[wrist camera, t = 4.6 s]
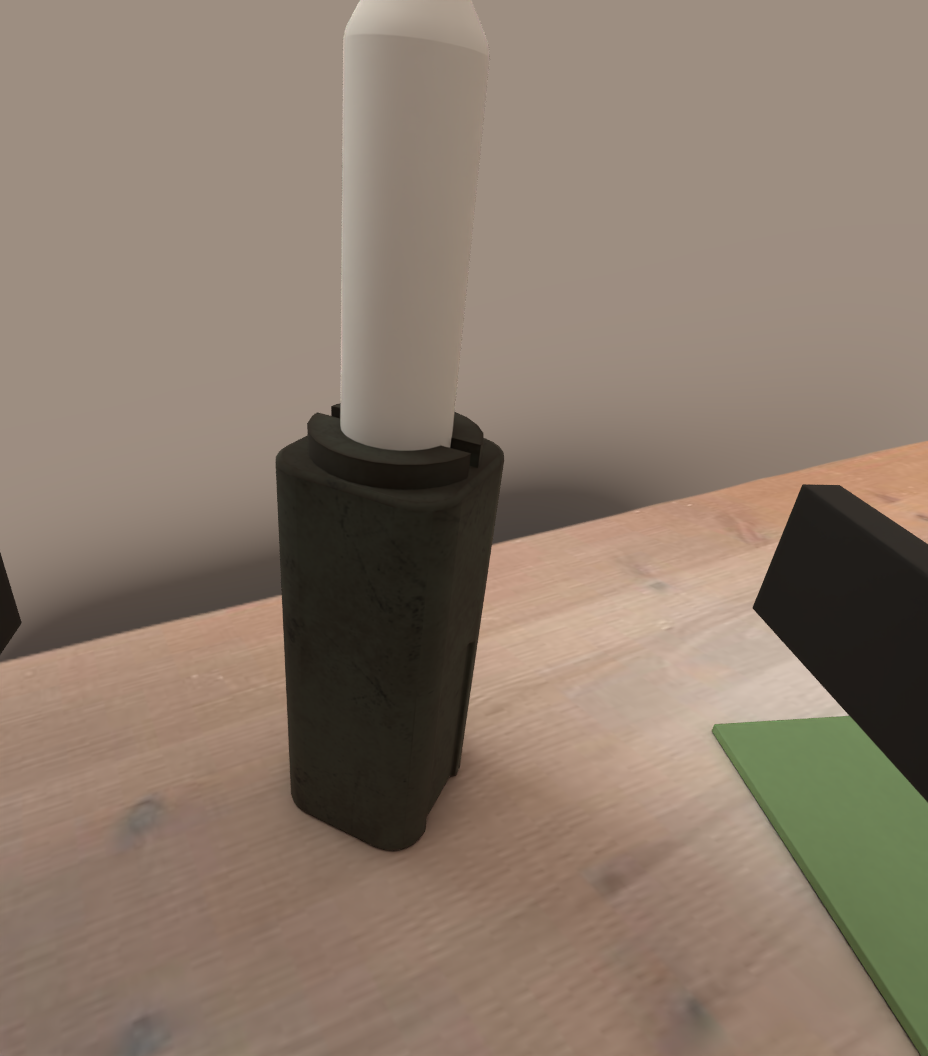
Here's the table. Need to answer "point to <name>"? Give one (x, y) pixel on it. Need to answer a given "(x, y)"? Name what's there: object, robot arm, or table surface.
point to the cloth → (849, 843)
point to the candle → (392, 444)
